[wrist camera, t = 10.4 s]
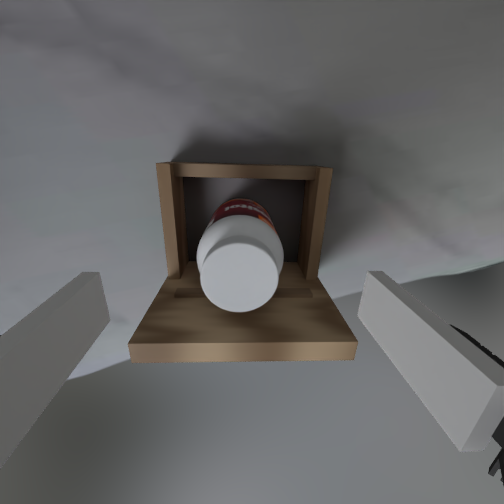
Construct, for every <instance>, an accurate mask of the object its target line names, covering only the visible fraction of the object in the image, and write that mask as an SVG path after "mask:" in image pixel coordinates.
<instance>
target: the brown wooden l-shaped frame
mask: <svg viewBox="0 0 504 504" xmlns="http://www.w3.org/2000/svg"><path fill="white" fill-rule="evenodd" d="M156 169H157V178H158V187H159V196H160V205H161V214H162V223H163V232H164V241H165V250H166V259H167V267H168V277H167V278H166V280H165V282H164V284H163V285H162V287H161V289H160V290H159V292H158V294H157V295H156V297H155V299H154V300H153V302H152V304H151V305H150V307H149V309H148V311H147V312H146V314H145V316H144V317H143V319H142V321H141V322H140V324H139V326H138V327H137V329H136V331H135V332H134V334H133V336H132V337H131V339H130V341H129V343H128V347H129V352H130V357H131V362H132V363H161V362H162V363H167V362H168V363H169V362H242V361H243V362H244V361H245V362H246V361H318V360H320V361H322V360H354V357H355V353H356V349H357V345H358V341H357V339H356V337H355V336H354V334H353V333H352V331H351V329H350V328H349V326H348V325H347V323H346V321H345V320H344V318H343V317H342V315H341V314H340V312H339V310H338V309H337V307H336V305H335V304H334V302H333V301H332V299H331V297H330V296H329V294H328V293H327V291H326V289H325V288H324V286H323V285H322V283H321V282H320V280H319V278H318V277H317V276H318V269H319V262H320V255H321V248H322V241H323V234H324V228H325V221H326V214H327V207H328V200H329V193H330V186H331V179H332V172H333V168H328V167H322V166H303V165H268V164H234V163H199V162H163V163H156ZM183 177H215V178H254V179H293V180H306V182H305V192H304V201H303V210H302V220H301V229H300V238H299V248H298V257H297V262H283V266H282V270H281V272H280V274H279V280H278V286H277V289H276V291H275V292H274V294H273V296H272V297H271V298H270V299H269V300H268V301H267V302H266V303H265V304H264V305H262V306H260V307H259V308H256V309H254V310H251V311H246V312H232V311H227V310H224V309H222V308H220V307H218V306H216V305H215V304H214V303H212V302H211V301H210V300H209V299H208V297H207V296H206V295H205V293H204V291H203V289H202V286H201V280H200V272H199V269H198V265H197V261H189V257H188V243H187V230H186V216H185V203H184V189H183Z"/></svg>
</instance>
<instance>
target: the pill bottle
mask: <svg viewBox="0 0 504 504" xmlns="http://www.w3.org/2000/svg"><path fill="white" fill-rule="evenodd" d="M283 260H284V254H283V248H282V244H281V241H280V239H279V237H278V234H277V232H276V230H275V227H274V225H273V223H272V221H271V218H270V216H269V214H268V213H267V211H266V210H265V209H264V208H263V207H262V206H261V205H260V204H258V203H257V202H255V201H252V200H249V199H233V200H230V201H227V202H225V203H224V204H222V205H221V206H220V207H219V208H218V209H217V210H216V211H215V213H214V214H213V216H212V218H211V220H210V222H209V224H208V226H207V228H206V230H205V232H204V234H203V236H202V238H201V240H200V242H199V245H198V249H197V265H198V269H199V272H200V280H201V286H202V289H203V291H204V293H205V295H206V296H207V297H208V299H209V300H210V301H211V302H212V303H214V304H215V305H216V306H218V307H220V308H222V309H224V310H227V311H232V312H246V311H251V310H254V309H256V308H259V307H260V306H262V305H264V304H265V303H266V302H267V301H268V300H269V299H270V298H271V297H272V296H273V294H274V292H275V291H276V289H277V286H278V280H279V274H280V272H281V270H282V266H283Z"/></svg>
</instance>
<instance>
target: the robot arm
mask: <svg viewBox="0 0 504 504" xmlns="http://www.w3.org/2000/svg"><path fill="white" fill-rule="evenodd" d="M357 316H358V318H359V319H360V320H361V322H362V323H363V324H364V326H365V327H366V328H367V329H368V331H369V332H370V333H371V335H372V336H373V337H374V339H375V340H376V341H377V343H378V344H379V345H380V347H381V348H382V349H383V351H384V352H385V353H386V354H387V356H388V357H389V358H390V360H391V361H392V362H393V364H394V365H395V367H396V368H397V369H398V370H399V372H400V373H401V374H402V376H403V377H404V378H405V380H406V381H407V382H408V384H409V385H410V386H411V388H412V389H413V390H414V392H415V393H416V394H417V396H418V397H419V398H420V399H421V401H422V402H423V403H424V405H425V406H426V407H427V409H428V410H429V411H430V413H431V414H432V415H433V417H434V418H435V419H436V421H437V422H438V423H439V425H440V426H441V427H442V428H443V430H444V431H445V433H446V434H447V435H448V436H449V438H450V439H451V440H452V442H453V443H454V445H455V446H456V447H457V448H458V450H459V451H460V452H467V451H484V449H485V448H486V446H487V445H488V443H489V441H490V440H491V438H492V437H493V438H494V440H495V441H496V442H497V443H498V444H499V445H500V446H501V447H502V449H501V451H500V452H499V454H498V455H497V457H496V458H495V460H494V461H493V463H492V464H491V466H490V467H489V472H488V474H490V475H492V476H494V475H495V473H496V471H497V470H498V469H501V474H502V478H501V481H502V482H503V485H504V362H503V361H502V360H501V359H499V358H498V357H497V356H496V355H492V352H490V351H489V350H488V349H487V348H485V347H484V346H481V345H480V343H479V342H477V341H476V340H475V339H474V338H472V337H471V336H470V335H468V334H467V333H465V332H464V331H462V330H460V329H458V328H456V327H454V326H452V325H449V324H448V323H446V322H445V321H444V320H443V319H441V318H440V317H439V316H438V315H436V314H435V313H434V312H433V311H431V310H430V309H429V308H428V307H426V306H425V305H424V304H422V303H421V302H420V301H419V300H418V299H416V298H415V297H414V296H412V295H411V294H410V293H409V292H407V291H406V290H405V289H404V288H402V287H401V286H400V285H399V284H397V283H396V282H395V281H394V280H392V279H391V278H390V277H389V276H387V275H386V274H385V273H384V272H382V271H367V276H366V280H365V284H364V289H363V293H362V297H361V302H360V306H359V310H358V315H357ZM109 321H110V317H109V312H108V308H107V303H106V299H105V295H104V290H103V286H102V282H101V277H100V273H99V272H82V273H81V274H79V275H78V276H77V277H76V278H74V279H73V280H72V281H70V282H69V283H68V284H67V285H65V286H64V287H63V288H62V289H60V290H59V291H58V292H56V293H55V294H54V295H53V296H51V297H50V298H49V299H47V300H46V301H45V302H44V303H42V304H41V305H40V306H39V307H37V308H36V309H35V310H33V311H32V312H31V313H30V314H28V315H27V316H26V317H25V318H23V319H22V320H21V321H19V322H18V323H17V324H16V325H14V326H13V327H12V328H10V329H9V330H8V331H7V332H5V333H4V334H3V335H0V468H1V467H2V466H3V464H4V463H5V462H6V460H7V459H8V458H9V456H10V455H11V454H12V452H13V451H14V450H15V448H16V447H17V446H18V444H19V443H20V442H21V440H22V439H23V437H24V436H25V435H26V433H27V432H28V431H29V429H30V428H31V427H32V425H33V424H34V423H35V421H36V420H37V419H38V417H39V416H40V414H41V413H42V412H43V410H44V409H45V408H46V406H47V405H48V404H49V402H50V401H51V400H52V398H53V397H54V396H55V394H56V393H57V392H58V390H59V389H60V388H61V386H62V385H63V384H64V382H65V381H66V379H67V378H68V377H69V375H70V374H71V373H72V371H73V370H74V369H75V367H76V366H77V365H78V363H79V362H80V361H81V359H82V358H83V357H84V355H85V354H86V352H87V351H88V350H89V348H90V347H91V346H92V344H93V343H94V342H95V340H96V339H97V338H98V336H99V335H100V334H101V332H102V331H103V330H104V328H105V327H106V325H107V324H108V323H109Z"/></svg>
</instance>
